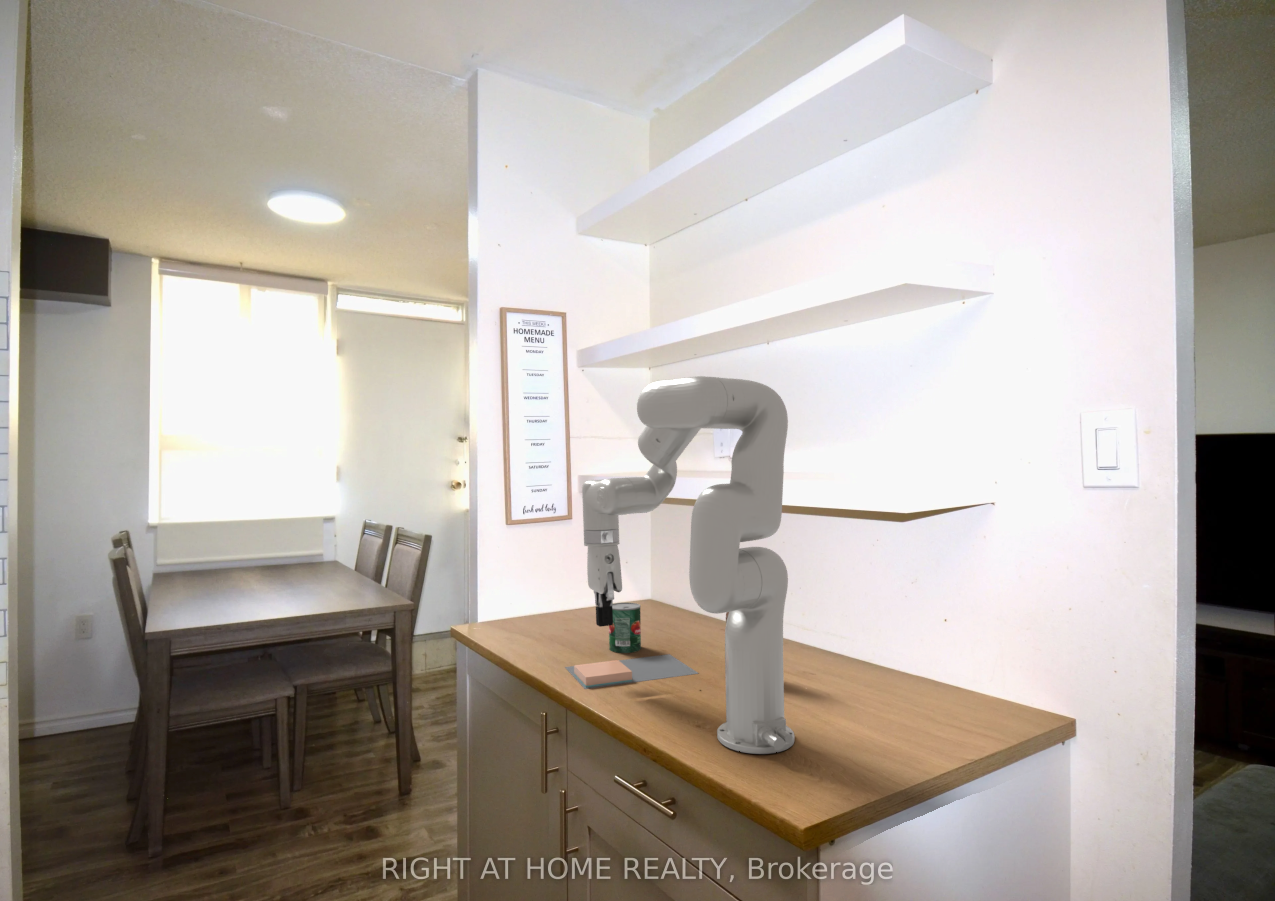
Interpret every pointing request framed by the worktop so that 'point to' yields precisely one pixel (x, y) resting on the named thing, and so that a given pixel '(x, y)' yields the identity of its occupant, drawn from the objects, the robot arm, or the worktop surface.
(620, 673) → the tile
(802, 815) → the worktop surface
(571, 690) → the worktop surface
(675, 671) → the mat
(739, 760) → the worktop surface
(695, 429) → the robot arm
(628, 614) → the canned tomato
